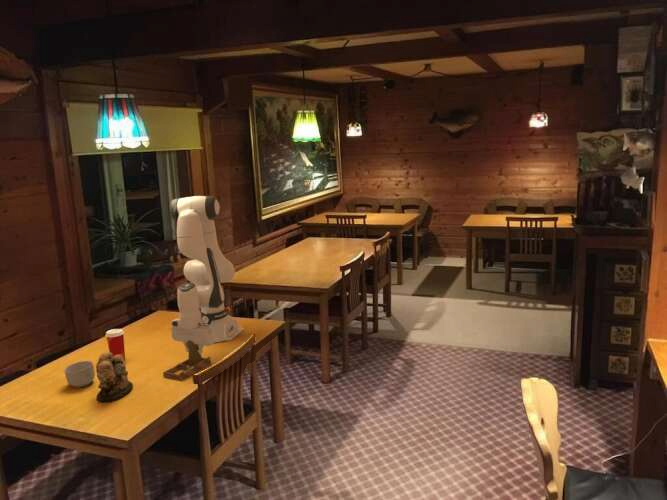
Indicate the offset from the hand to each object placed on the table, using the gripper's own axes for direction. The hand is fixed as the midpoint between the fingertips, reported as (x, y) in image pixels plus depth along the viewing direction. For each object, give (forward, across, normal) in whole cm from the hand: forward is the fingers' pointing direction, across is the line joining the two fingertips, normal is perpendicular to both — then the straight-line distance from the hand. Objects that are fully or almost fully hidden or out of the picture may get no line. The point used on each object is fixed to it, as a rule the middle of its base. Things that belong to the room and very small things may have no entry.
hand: (194, 352), depth 238 cm
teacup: (+6, +33, +31) cm, 46 cm away
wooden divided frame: (+6, 0, +5) cm, 8 cm away
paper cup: (+6, +37, +9) cm, 38 cm away
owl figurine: (+6, +12, +33) cm, 36 cm away
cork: (+5, 0, 0) cm, 5 cm away
